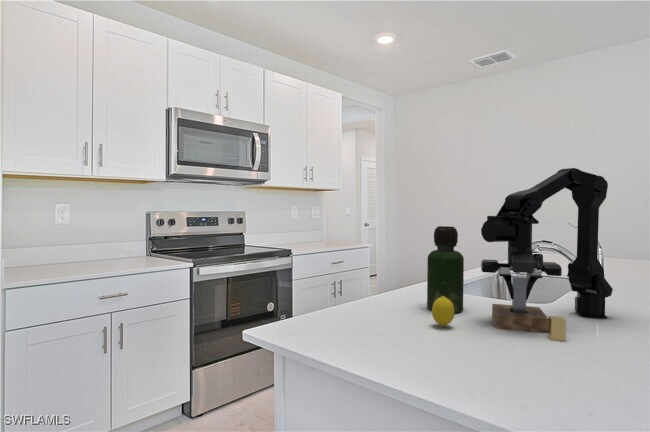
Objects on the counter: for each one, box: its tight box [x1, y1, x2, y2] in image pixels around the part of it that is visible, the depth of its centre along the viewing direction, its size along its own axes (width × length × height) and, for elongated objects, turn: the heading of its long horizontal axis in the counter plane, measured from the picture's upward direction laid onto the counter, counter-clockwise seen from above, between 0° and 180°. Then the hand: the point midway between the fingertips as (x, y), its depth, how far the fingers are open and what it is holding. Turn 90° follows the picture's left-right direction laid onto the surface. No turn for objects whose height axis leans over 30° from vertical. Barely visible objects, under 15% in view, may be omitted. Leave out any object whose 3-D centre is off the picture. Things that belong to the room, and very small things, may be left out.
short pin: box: [547, 315, 567, 342], centre depth 96 cm, size 3×3×5 cm
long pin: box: [511, 275, 527, 313], centre depth 108 cm, size 3×3×10 cm
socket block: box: [491, 303, 549, 334], centre depth 108 cm, size 12×12×4 cm
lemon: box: [431, 296, 455, 328], centre depth 105 cm, size 6×6×8 cm
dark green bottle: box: [426, 225, 465, 314], centre depth 122 cm, size 10×10×25 cm
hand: (518, 299), depth 108 cm, fingers closed on long pin, 3 cm apart
